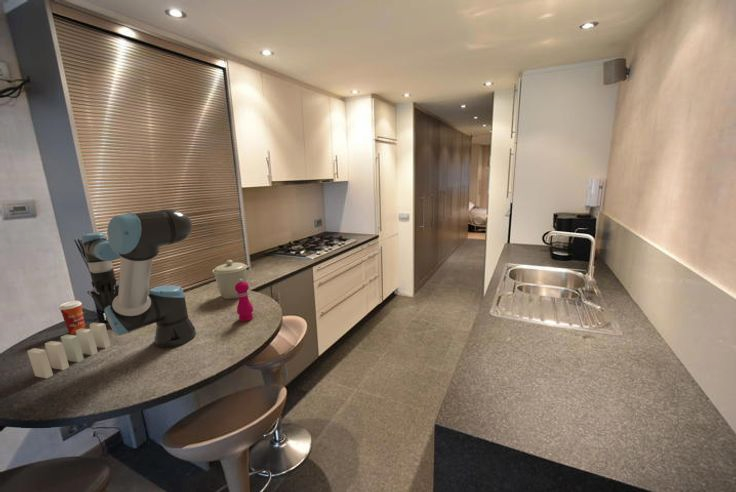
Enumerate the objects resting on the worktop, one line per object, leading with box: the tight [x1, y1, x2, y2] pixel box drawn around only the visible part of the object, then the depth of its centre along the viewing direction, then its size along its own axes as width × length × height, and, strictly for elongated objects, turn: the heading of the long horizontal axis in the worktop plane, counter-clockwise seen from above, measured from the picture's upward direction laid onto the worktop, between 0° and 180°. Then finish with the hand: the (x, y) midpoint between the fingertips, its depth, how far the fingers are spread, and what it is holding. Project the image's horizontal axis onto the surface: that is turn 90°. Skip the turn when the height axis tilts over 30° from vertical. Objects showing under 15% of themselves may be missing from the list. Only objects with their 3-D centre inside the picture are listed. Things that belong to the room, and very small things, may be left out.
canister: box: [212, 259, 248, 300], centre depth 181 cm, size 18×18×21 cm
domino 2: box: [44, 340, 70, 371], centre depth 119 cm, size 6×2×10 cm, turn 73°
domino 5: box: [89, 322, 111, 349], centre depth 133 cm, size 6×2×10 cm, turn 73°
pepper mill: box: [235, 279, 254, 322], centre depth 152 cm, size 7×7×20 cm
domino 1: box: [26, 347, 54, 379], centre depth 114 cm, size 6×2×10 cm, turn 73°
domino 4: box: [75, 328, 99, 356], centre depth 128 cm, size 6×2×10 cm, turn 73°
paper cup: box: [58, 300, 86, 336], centre depth 146 cm, size 8×8×14 cm
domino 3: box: [60, 333, 85, 363], centre depth 123 cm, size 6×2×10 cm, turn 73°
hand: (114, 322), depth 138 cm, fingers closed
